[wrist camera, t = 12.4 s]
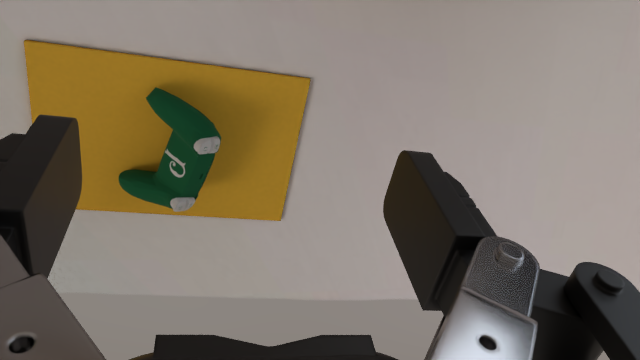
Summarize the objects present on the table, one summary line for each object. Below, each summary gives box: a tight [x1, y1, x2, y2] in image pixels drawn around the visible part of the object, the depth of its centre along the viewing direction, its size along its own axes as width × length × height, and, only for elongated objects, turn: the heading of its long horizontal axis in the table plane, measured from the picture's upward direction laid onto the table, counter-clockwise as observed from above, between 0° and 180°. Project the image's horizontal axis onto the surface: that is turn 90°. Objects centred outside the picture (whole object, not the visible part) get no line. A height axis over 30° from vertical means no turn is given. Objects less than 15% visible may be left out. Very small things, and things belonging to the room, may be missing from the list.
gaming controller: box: [119, 87, 221, 212], centre depth 38 cm, size 9×4×6 cm
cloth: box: [24, 40, 310, 221], centre depth 40 cm, size 20×14×1 cm
